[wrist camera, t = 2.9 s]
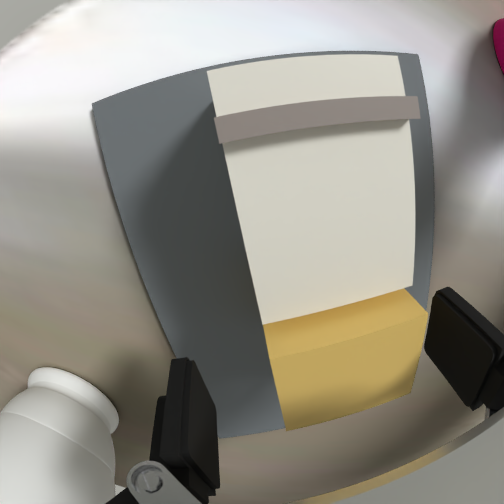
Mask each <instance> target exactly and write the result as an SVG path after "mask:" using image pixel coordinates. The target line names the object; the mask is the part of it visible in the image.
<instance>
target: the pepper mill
mask: <svg viewBox="0 0 504 504" xmlns="http://www.w3.org/2000/svg"><path fill="white" fill-rule="evenodd" d="M493 40H494V46H495V52H496V55H497V58H498V61H499V64H500V66H501V69H502V71H503V74H504V18H503V19H499V20H498V21H497V22H496V23H495V26H494V29H493Z"/></svg>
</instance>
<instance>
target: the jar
mask: <svg viewBox="0 0 504 504" xmlns="http://www.w3.org/2000/svg"><path fill="white" fill-rule="evenodd" d="M118 424H119V417H118V413H117V411H116V409H115V407H114V406H113V404H112V403H111V401H110V400H109V399H108V398H107V397H106V396H105V395H104V394H103V393H102V392H101V391H100V390H98V389H97V388H96V387H94V386H93V385H92V384H90V383H89V382H87V381H86V380H84V379H82V378H80V377H78V376H76V375H74V374H72V373H70V372H67V371H64V370H61V369H57V368H52V367H42V368H38V369H35V370H34V371H33V372H32V373H31V374H30V376H29V378H28V389H26V390H24V391H23V392H21V393H19V394H18V395H16V396H15V397H14V398H13V399H12V400H11V401H10V402H9V403H8V404H7V405H6V406H5V407H4V408H3V410H2V411H1V413H0V504H105V503H107V502H108V501H109V500H111V499H112V498H114V497H115V483H114V477H115V452H114V446H113V441H112V438H111V434H112V433H113V432H114V431H115V430H116V428H117V426H118Z"/></svg>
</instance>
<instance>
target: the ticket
mask: <svg viewBox="0 0 504 504" xmlns="http://www.w3.org/2000/svg"><path fill="white" fill-rule="evenodd" d="M207 75H208V80H209V84H210V89H211V94H212V98H213V103H214V108H215V112H216V117H214V121H215V126H216V130H217V135H218V139H219V144H221V143H222V145H223V149H224V154H225V158H226V163H227V167H228V172H229V177H230V181H231V186H232V190H233V195H234V199H235V204H236V208H237V213H238V218H239V222H240V227H241V231H242V236H243V240H244V245H245V249H246V254H247V258H248V262H249V267H250V271H251V276H252V280H253V285H254V289H255V294H256V298H257V303H258V307H259V311H260V316H261V320H262V325H263V324H268V323H273V322H277V321H282V320H286V319H291V318H295V317H299V316H303V315H308V314H312V313H316V312H320V311H324V310H328V309H332V308H336V307H339V306H343V305H347V304H351V303H354V302H358V301H362V300H365V299H369V298H372V297H376V296H379V295H383V294H386V293H390V292H393V291H396V290H400V289H403V288H406V287H409V286H412V285H413V272H414V254H415V181H414V164H413V151H412V141H411V131H410V123H409V119H421V118H420V110H419V103H418V97H417V96H405V90H404V84H403V79H402V74H401V69H400V64H399V60H398V56H393V55H369V54H341V55H316V56H302V57H291V58H281V59H273V60H265V61H258V62H251V63H245V64H239V65H234V66H228V67H223V68H218V69H213V70H209V71H207Z"/></svg>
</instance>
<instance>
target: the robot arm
mask: <svg viewBox="0 0 504 504" xmlns="http://www.w3.org/2000/svg"><path fill="white" fill-rule="evenodd" d="M424 349H425V352H426V354H427V355H428V356H429V357H430V359H431V360H432V361H433V363H434V364H435V365H436V366H437V368H438V369H439V370H440V372H441V373H442V374H443V375H444V377H445V378H446V379H447V381H448V382H449V383H450V385H451V386H452V387H453V389H454V390H455V391H456V393H457V394H458V396H459V397H460V398H461V400H462V401H463V402H464V404H465V405H466V406H470V408H471V409H472V411H474V410H475V409H477V408H479V407H480V406H482V405H483V403H484V404H485V406H486V412H485V421H483V422H482V423H480V424H479V425H477V426H475V427H474V428H472V429H471V430H469V431H468V432H466V433H464V434H463V435H461V436H459V437H458V438H456V439H454V440H453V441H451V442H449V443H447V444H445V445H444V446H442V447H440V448H438V449H436V450H434V451H432V452H431V453H429V454H427V455H425V456H423V457H421V458H419V459H416V460H414V461H412V462H410V463H408V464H406V465H404V466H401V467H399V468H397V469H394V470H392V471H390V472H387V473H385V474H382V475H380V476H377V477H374V478H372V479H369V480H366V481H364V482H361V483H358V484H355V485H352V486H349V487H346V488H343V489H340V490H336V491H333V492H329V493H326V494H322V495H319V496H315V497H311V498H307V499H302V500H298V501H294V502H289V503H284V504H504V335H503V334H502V333H501V332H500V331H499V330H498V329H497V328H496V327H495V326H494V325H493V324H492V323H490V322H489V321H488V320H487V319H486V318H485V317H484V316H483V315H482V314H481V313H479V312H478V311H477V310H476V309H475V308H474V307H473V306H472V305H470V304H469V303H468V302H467V301H466V300H465V299H463V298H462V297H461V296H460V295H459V294H458V293H456V292H455V291H454V290H453V289H452V288H450V287H446V288H443V289H441V290H438V291H436V293H435V296H434V297H433V299H432V306H431V312H430V318H429V323H428V329H427V334H426V339H425V344H424ZM127 486H128V487H127V488H126V489H124V490H123V491H122V492H120V493H119V494H118V495H116V496H115V497H114V498H112V499H111V500H109V501H108V502H107V503H105V504H208V503H209V499H208V496H216V492H215V489H218V488H220V475H219V456H218V435H217V411H216V407H215V404H214V402H213V400H212V398H211V396H210V393H209V391H208V389H207V387H206V385H205V383H204V381H203V378H202V376H201V374H200V372H199V370H198V367H197V365H196V363H195V361H194V360H191V361H190V360H189V358H188V357H184V358H178V359H172V361H171V366H170V372H169V379H168V386H167V394H166V396H160V397H159V398H158V401H157V407H156V413H155V420H154V427H153V435H152V443H151V451H150V459H149V461H144V462H140V463H138V464H136V465H135V466H134V467H133V468H132V469H131V470H130V471H129V473H128V476H127Z"/></svg>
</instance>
